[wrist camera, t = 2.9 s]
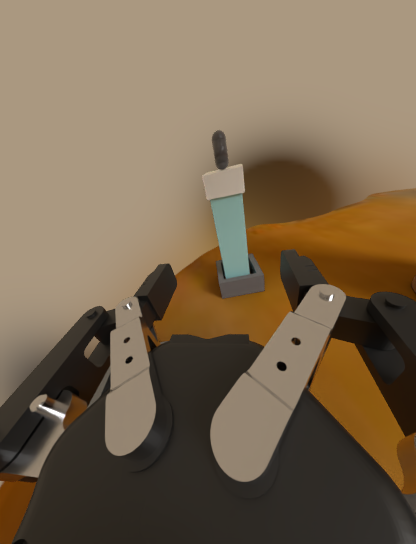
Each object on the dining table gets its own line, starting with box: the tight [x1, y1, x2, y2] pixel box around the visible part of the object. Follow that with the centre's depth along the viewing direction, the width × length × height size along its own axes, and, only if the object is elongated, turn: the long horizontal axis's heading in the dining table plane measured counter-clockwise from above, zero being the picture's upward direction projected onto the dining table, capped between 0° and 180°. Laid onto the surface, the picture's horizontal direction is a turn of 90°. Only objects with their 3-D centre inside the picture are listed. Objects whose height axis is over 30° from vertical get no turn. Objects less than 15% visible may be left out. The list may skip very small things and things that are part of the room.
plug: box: [202, 130, 250, 279], centre depth 22 cm, size 4×4×20 cm
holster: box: [216, 254, 265, 298], centre depth 26 cm, size 6×6×3 cm
